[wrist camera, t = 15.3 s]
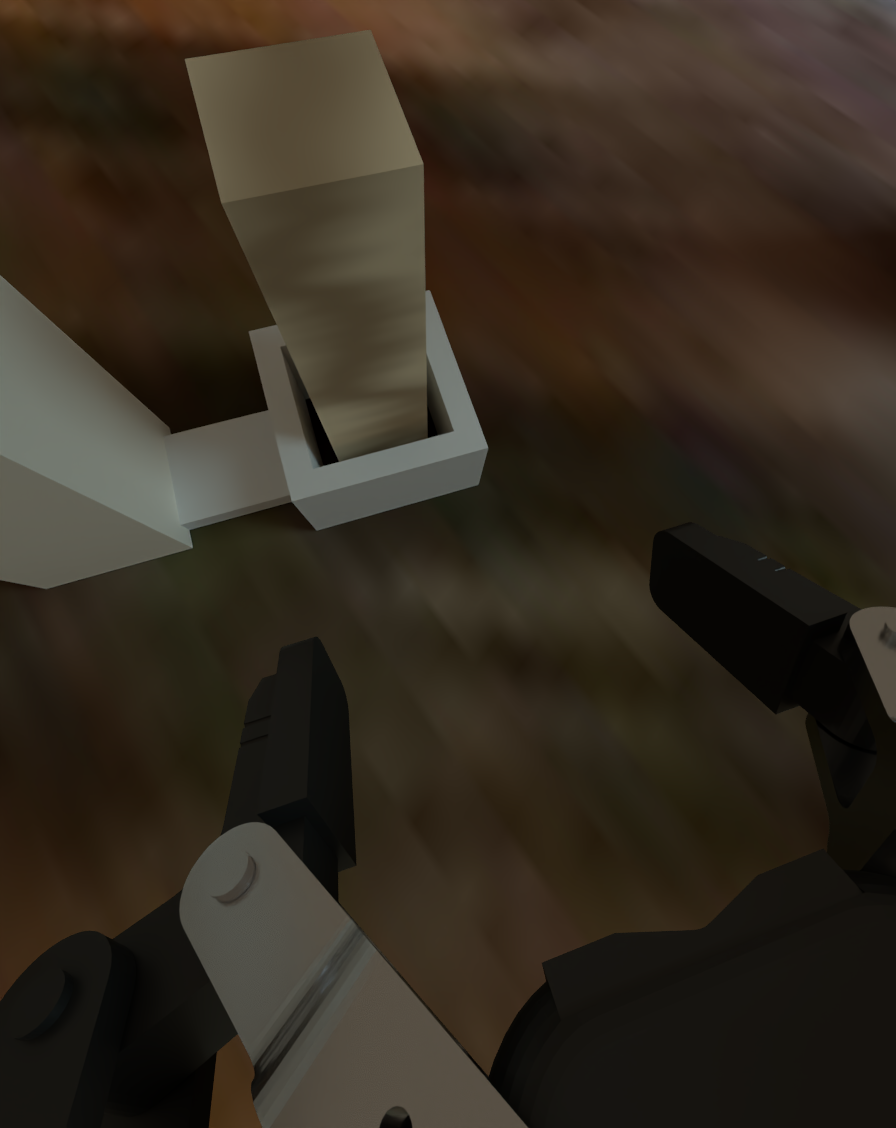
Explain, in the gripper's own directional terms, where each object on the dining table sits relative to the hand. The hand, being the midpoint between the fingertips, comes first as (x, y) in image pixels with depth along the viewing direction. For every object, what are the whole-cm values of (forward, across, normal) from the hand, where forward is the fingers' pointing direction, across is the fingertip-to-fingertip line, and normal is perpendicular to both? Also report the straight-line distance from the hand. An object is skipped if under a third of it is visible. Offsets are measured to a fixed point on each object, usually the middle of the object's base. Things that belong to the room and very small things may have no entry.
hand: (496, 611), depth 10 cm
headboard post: (+16, +8, 0) cm, 18 cm away
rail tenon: (+16, +1, 0) cm, 16 cm away
